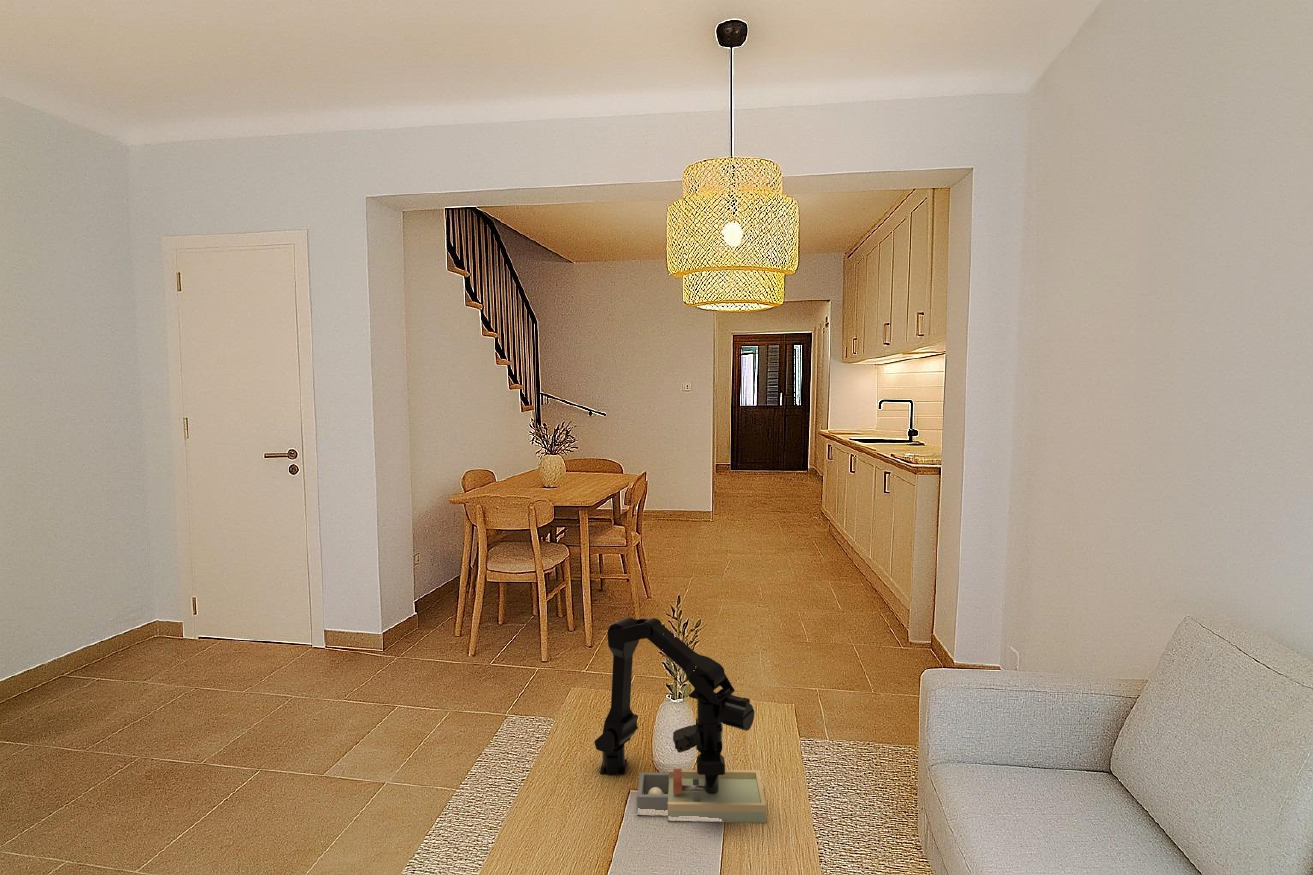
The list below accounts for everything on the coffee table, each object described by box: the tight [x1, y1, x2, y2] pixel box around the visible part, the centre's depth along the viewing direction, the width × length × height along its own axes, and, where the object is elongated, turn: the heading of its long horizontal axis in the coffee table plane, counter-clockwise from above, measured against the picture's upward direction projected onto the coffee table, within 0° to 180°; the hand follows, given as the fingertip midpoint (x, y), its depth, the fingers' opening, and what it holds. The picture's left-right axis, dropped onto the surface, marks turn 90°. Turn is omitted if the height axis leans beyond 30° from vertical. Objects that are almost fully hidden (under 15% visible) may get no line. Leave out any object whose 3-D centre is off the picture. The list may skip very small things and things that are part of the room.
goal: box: [636, 771, 669, 811], centre depth 161 cm, size 10×7×4 cm
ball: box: [647, 787, 664, 795], centre depth 161 cm, size 4×4×4 cm
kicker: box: [672, 768, 719, 794], centre depth 161 cm, size 4×11×7 cm, turn 88°
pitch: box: [667, 769, 767, 824], centre depth 161 cm, size 14×22×4 cm, turn 88°
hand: (709, 782), depth 161 cm, fingers closed on kicker, 3 cm apart
